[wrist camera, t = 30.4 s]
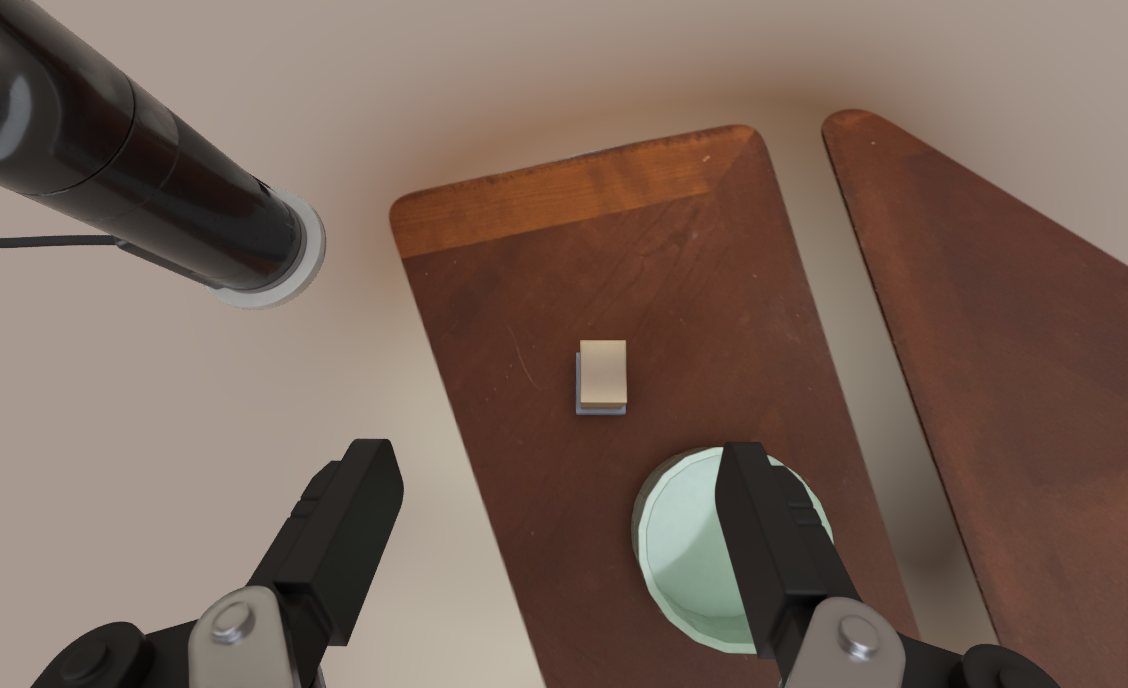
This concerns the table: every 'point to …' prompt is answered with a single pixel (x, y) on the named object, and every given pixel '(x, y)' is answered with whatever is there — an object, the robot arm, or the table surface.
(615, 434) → the table surface
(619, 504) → the table surface
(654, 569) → the bowl
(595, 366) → the eraser
